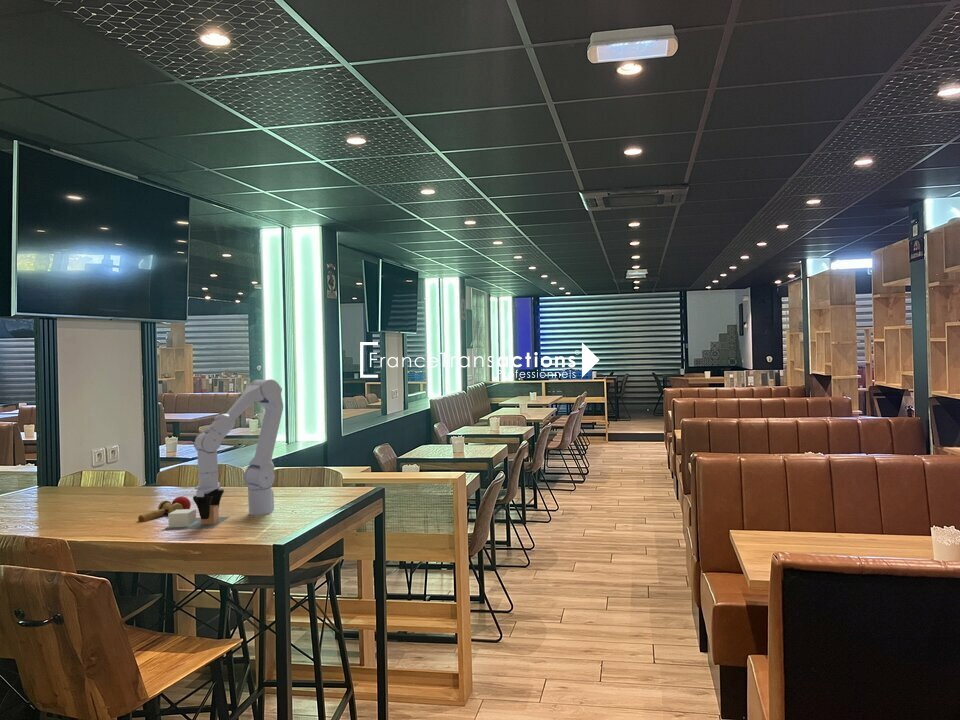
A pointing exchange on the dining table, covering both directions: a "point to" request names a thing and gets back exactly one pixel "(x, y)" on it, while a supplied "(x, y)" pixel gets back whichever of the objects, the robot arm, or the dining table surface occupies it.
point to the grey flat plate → (197, 525)
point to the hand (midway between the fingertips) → (209, 516)
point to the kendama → (167, 508)
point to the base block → (182, 517)
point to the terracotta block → (212, 515)
